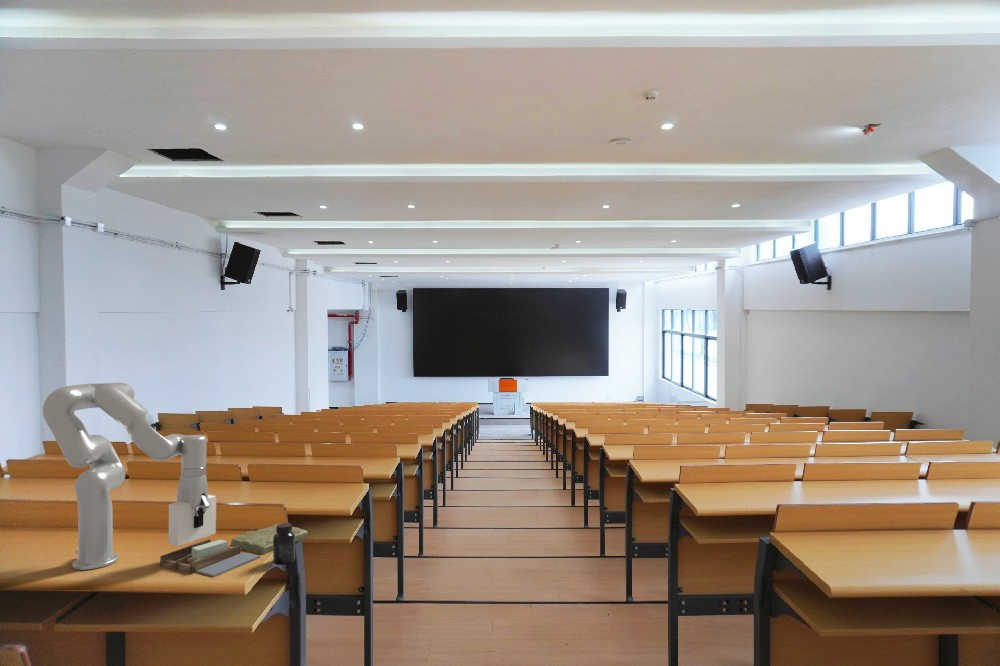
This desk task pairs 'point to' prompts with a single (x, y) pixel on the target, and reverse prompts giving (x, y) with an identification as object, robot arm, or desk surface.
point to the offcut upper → (209, 549)
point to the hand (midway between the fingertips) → (192, 525)
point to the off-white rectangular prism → (190, 522)
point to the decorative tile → (263, 539)
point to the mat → (228, 564)
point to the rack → (180, 561)
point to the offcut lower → (193, 560)
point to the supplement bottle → (284, 544)
